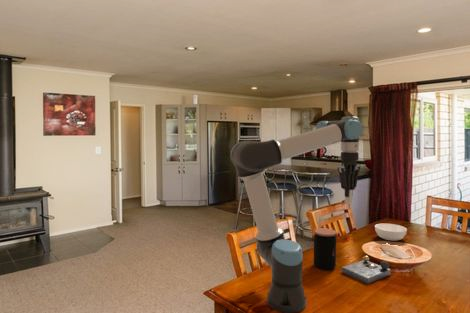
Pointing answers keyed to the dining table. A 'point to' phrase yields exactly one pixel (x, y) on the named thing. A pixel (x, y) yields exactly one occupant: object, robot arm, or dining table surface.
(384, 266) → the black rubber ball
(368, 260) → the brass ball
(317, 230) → the coffee jar
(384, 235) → the bowl
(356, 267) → the grey base plate
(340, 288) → the dining table surface
